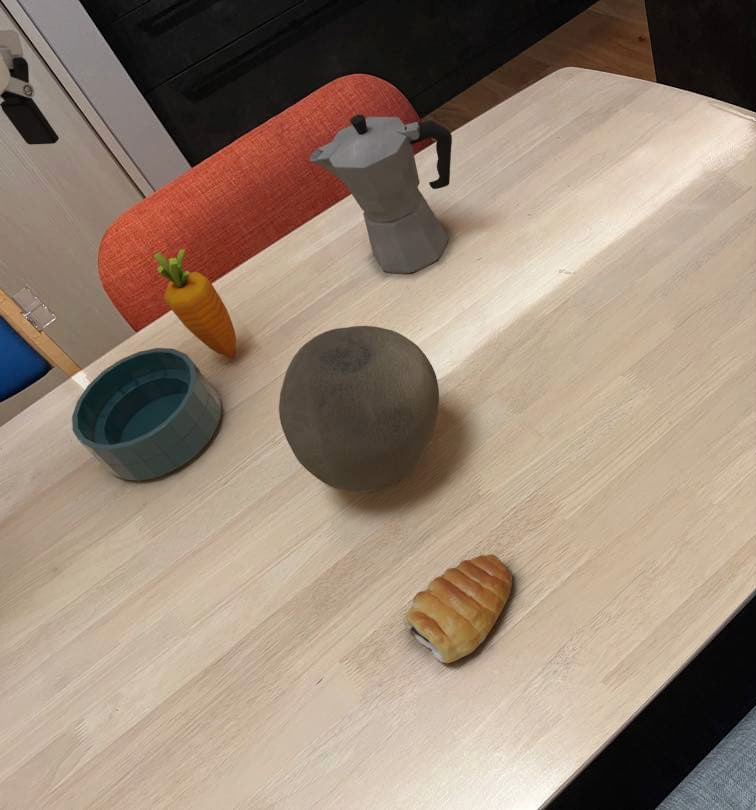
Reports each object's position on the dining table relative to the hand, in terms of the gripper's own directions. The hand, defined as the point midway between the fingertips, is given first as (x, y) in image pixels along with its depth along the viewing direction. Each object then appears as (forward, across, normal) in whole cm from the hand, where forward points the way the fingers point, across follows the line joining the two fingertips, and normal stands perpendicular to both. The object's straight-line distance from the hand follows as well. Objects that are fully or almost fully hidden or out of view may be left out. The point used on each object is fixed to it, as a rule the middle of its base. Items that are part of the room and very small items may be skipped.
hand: (12, 176), depth 77 cm
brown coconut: (+30, +5, +27) cm, 40 cm away
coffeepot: (+29, -25, +20) cm, 43 cm away
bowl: (+30, +4, 0) cm, 30 cm away
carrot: (+30, -7, +3) cm, 31 cm away
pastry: (+30, +20, +39) cm, 53 cm away
